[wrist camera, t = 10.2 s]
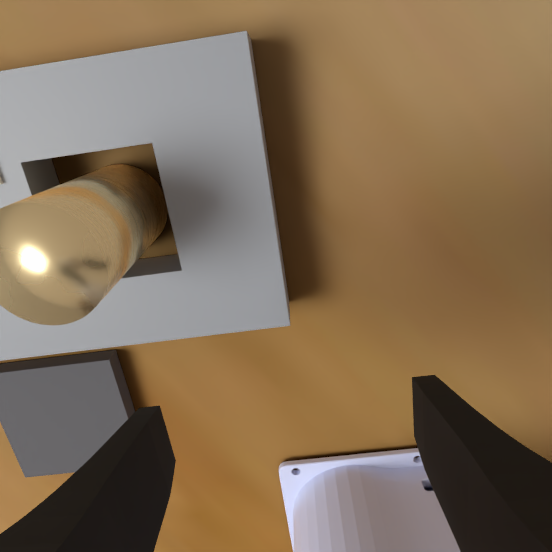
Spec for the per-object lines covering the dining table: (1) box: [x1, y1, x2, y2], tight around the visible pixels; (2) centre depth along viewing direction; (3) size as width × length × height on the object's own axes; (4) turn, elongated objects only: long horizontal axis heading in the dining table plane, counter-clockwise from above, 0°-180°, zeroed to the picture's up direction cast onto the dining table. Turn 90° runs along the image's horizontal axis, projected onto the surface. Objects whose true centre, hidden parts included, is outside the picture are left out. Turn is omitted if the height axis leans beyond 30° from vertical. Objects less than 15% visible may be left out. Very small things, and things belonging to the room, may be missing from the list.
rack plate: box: [0, 31, 290, 361], centre depth 20 cm, size 20×12×3 cm, turn 98°
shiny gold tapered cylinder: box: [0, 164, 168, 325], centre depth 18 cm, size 4×4×8 cm
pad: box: [0, 350, 135, 477], centre depth 25 cm, size 7×7×1 cm
